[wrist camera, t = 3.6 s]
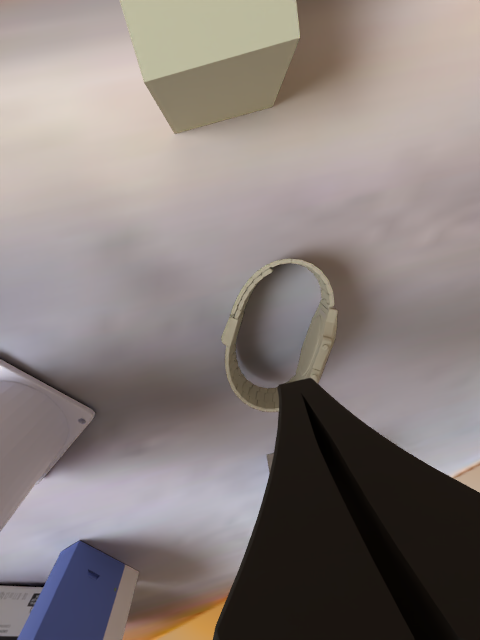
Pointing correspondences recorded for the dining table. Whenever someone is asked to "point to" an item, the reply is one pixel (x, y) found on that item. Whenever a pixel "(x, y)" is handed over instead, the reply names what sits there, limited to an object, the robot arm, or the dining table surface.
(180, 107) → the block marked 7
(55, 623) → the blue carton
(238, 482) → the dining table surface
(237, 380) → the wristwatch
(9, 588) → the tea box
